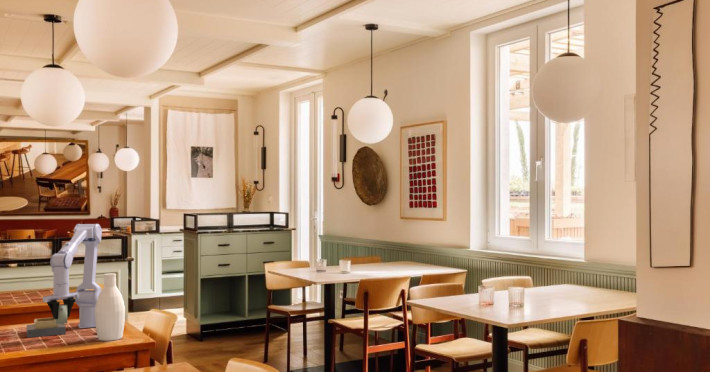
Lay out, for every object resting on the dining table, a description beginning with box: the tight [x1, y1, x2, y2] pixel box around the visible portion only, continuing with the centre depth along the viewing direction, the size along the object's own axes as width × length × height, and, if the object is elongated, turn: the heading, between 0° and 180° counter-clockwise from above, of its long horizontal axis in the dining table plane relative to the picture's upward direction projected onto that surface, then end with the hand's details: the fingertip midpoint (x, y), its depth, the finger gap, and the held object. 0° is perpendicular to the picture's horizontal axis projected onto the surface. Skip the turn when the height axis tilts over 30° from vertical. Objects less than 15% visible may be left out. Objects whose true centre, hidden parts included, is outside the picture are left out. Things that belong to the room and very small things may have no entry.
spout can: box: [55, 303, 68, 324], centre depth 269 cm, size 4×6×7 cm
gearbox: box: [26, 317, 67, 338], centre depth 278 cm, size 14×12×6 cm
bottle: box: [95, 272, 126, 342], centre depth 267 cm, size 11×11×25 cm
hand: (61, 318), depth 269 cm, fingers closed on spout can, 4 cm apart
